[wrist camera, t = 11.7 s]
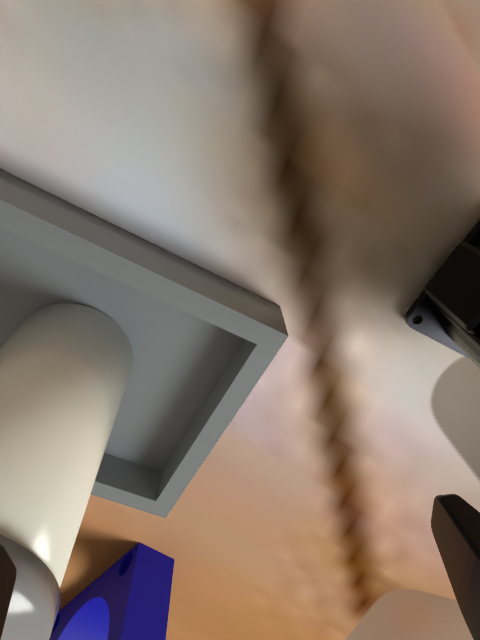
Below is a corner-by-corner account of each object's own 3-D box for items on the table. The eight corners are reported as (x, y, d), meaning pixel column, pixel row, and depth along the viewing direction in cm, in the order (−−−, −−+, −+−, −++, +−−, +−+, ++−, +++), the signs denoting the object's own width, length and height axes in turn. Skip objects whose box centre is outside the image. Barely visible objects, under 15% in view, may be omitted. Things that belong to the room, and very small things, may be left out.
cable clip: (98, 637, 34) (75, 735, 29) (49, 618, 33) (15, 717, 27) (190, 565, 30) (183, 664, 25) (139, 540, 29) (120, 639, 23)
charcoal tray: (280, 306, 21) (288, 335, 18) (171, 475, 26) (165, 517, 23) (-60, 139, 17) (-113, 146, 14) (-110, 377, 22) (-156, 415, 19)
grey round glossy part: (160, 349, 20) (94, 623, 10) (92, 418, 22) (-23, 708, 12) (55, 275, 18) (-167, 520, 8) (-10, 357, 20) (-258, 643, 10)
